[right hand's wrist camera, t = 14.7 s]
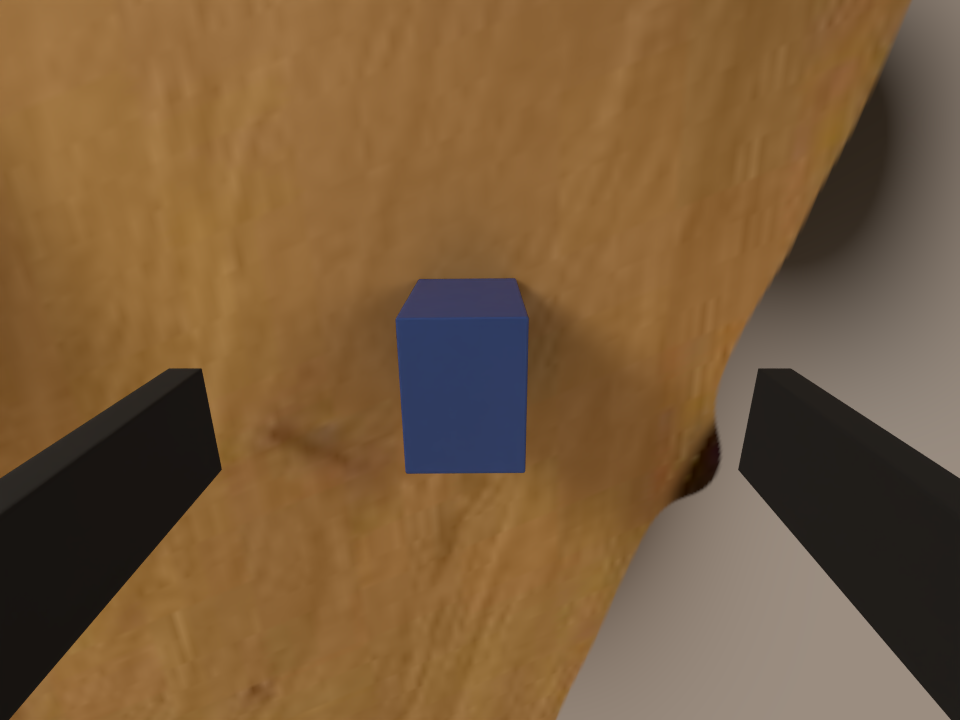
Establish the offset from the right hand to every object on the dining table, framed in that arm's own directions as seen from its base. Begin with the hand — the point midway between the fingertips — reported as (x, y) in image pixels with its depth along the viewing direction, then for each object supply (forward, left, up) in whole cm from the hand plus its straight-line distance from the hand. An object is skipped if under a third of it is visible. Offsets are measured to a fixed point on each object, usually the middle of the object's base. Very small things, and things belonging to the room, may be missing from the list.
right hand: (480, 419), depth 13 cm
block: (-3, -1, -14) cm, 15 cm away
